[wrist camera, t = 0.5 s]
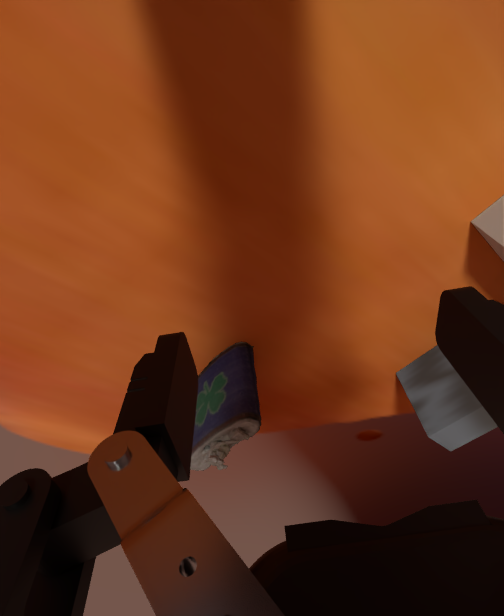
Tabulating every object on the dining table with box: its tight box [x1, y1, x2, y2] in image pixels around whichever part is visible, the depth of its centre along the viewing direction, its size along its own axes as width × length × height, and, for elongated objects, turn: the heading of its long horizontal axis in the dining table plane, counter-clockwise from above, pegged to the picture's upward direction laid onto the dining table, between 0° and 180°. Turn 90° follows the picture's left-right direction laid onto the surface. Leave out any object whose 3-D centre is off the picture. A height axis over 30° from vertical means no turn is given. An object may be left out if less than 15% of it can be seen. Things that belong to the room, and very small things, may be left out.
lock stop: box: [396, 345, 498, 451], centre depth 36 cm, size 10×4×8 cm, turn 139°
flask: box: [190, 342, 261, 471], centre depth 34 cm, size 9×3×11 cm, turn 140°
